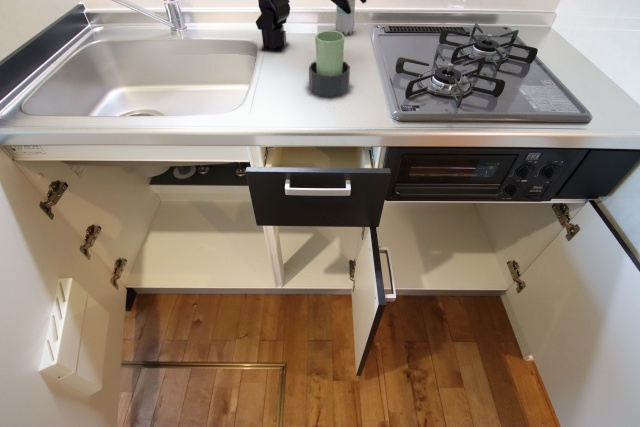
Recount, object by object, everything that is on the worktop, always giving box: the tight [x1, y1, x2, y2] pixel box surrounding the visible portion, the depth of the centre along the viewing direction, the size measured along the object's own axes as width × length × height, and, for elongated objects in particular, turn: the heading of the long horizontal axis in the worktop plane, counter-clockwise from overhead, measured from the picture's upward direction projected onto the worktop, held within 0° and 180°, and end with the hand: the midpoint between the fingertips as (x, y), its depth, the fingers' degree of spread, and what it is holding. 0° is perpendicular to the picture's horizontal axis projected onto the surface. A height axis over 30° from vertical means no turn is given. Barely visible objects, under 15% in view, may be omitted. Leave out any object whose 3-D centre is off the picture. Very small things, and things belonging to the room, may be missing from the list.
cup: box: [314, 30, 345, 76], centre depth 85 cm, size 7×7×13 cm
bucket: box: [308, 60, 351, 99], centre depth 88 cm, size 10×10×6 cm
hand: (357, 7), depth 86 cm, fingers open, 9 cm apart
